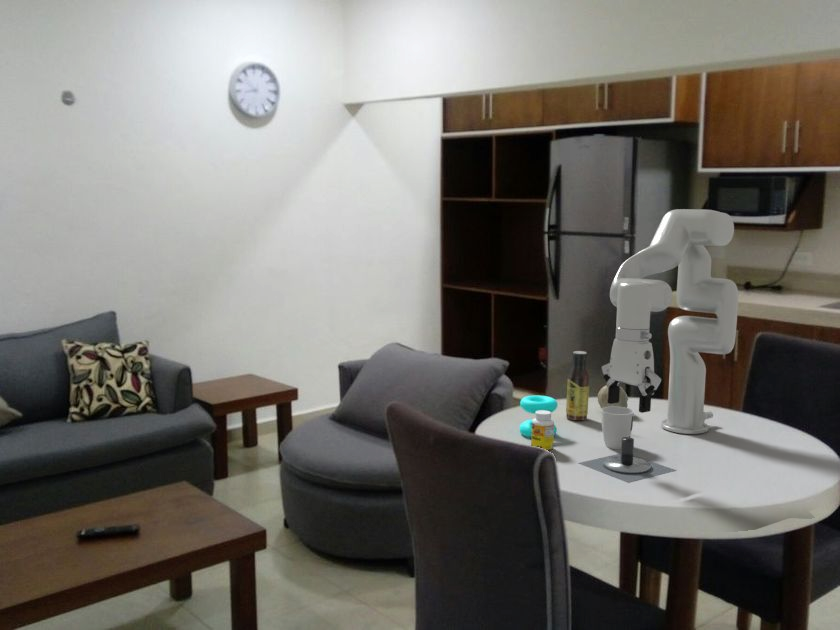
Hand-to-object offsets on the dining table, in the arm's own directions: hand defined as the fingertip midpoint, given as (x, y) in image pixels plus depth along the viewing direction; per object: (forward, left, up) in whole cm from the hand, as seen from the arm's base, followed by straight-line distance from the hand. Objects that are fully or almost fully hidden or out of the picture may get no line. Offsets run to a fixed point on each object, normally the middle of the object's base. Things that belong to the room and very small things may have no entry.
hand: (628, 407), depth 193 cm
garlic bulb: (-35, -39, -15) cm, 55 cm away
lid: (0, 0, -15) cm, 15 cm away
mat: (0, 0, -15) cm, 15 cm away
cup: (-10, -13, -15) cm, 23 cm away
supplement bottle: (+8, -21, -15) cm, 27 cm away
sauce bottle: (-21, -39, -15) cm, 47 cm away
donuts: (-1, -33, -15) cm, 37 cm away
